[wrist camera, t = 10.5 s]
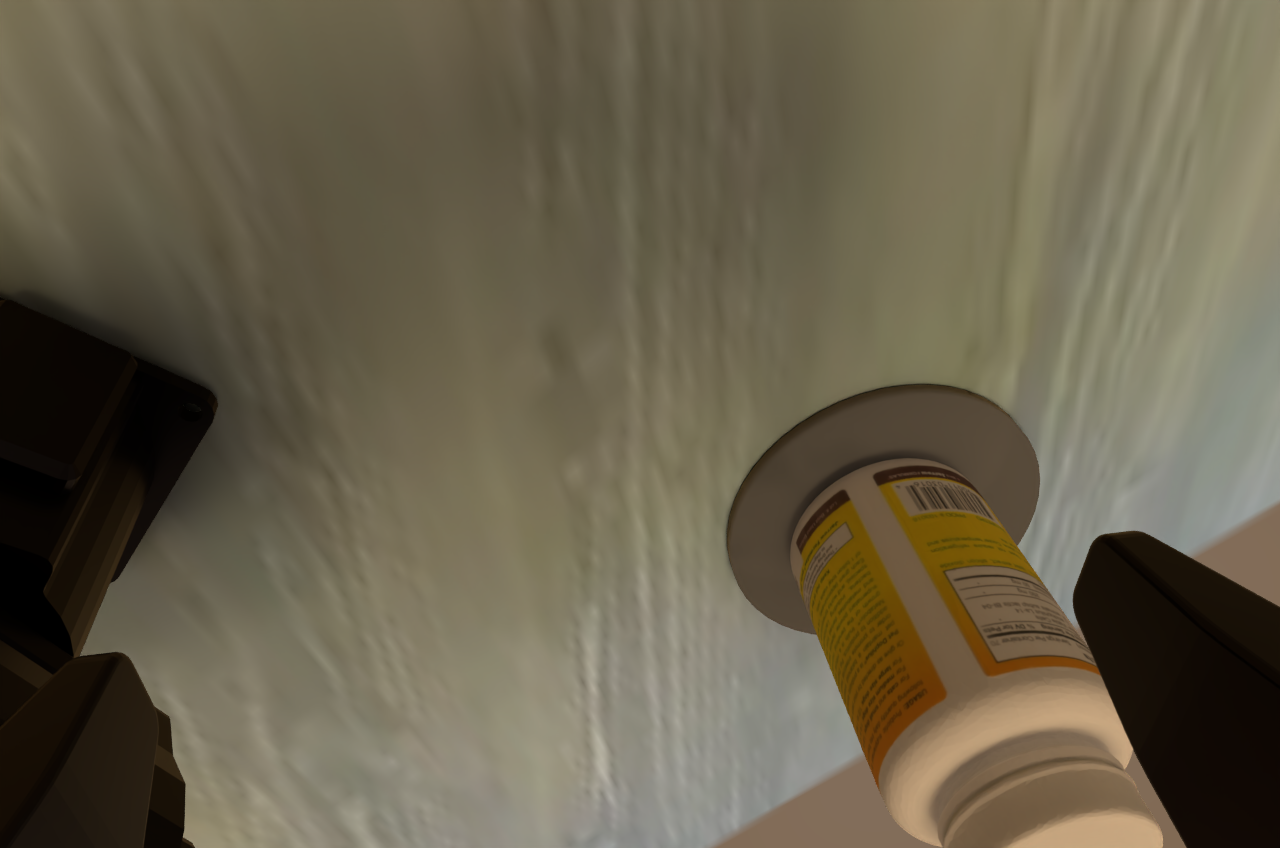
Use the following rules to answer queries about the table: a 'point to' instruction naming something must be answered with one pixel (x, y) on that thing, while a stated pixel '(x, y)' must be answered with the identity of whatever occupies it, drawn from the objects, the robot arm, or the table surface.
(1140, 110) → the table surface
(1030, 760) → the supplement bottle
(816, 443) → the slate coaster
